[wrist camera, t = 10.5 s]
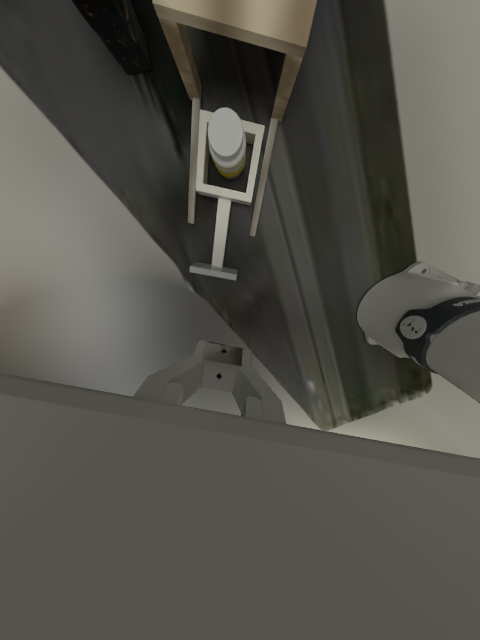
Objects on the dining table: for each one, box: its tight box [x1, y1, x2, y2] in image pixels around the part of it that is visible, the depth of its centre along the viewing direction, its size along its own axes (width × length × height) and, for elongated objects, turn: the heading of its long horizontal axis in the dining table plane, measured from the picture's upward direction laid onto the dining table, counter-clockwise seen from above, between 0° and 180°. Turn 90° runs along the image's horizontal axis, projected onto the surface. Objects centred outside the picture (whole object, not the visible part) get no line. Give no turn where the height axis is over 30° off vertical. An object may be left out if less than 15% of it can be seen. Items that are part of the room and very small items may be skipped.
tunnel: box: [153, 0, 317, 236], centre depth 19 cm, size 13×31×11 cm, turn 170°
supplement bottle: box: [208, 108, 246, 180], centre depth 23 cm, size 5×5×8 cm
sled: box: [190, 109, 265, 280], centre depth 27 cm, size 8×20×5 cm, turn 170°
